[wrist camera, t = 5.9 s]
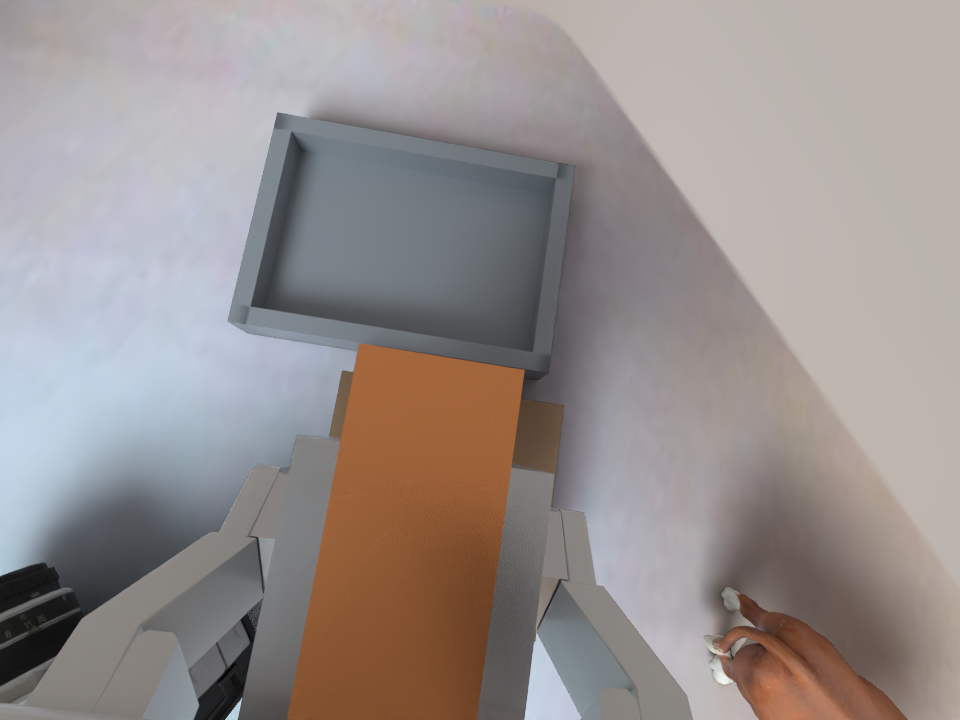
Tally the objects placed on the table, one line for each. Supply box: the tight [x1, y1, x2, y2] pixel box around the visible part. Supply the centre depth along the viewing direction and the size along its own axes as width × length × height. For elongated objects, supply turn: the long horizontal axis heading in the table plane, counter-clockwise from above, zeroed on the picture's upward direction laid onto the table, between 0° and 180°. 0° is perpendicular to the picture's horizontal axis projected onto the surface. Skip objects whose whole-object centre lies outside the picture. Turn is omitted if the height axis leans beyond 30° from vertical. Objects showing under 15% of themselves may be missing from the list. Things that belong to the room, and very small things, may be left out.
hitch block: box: [329, 371, 564, 642], centre depth 22 cm, size 9×9×4 cm
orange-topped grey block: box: [238, 343, 555, 720], centre depth 12 cm, size 4×6×13 cm, turn 171°
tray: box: [228, 112, 575, 380], centre depth 25 cm, size 14×10×2 cm
